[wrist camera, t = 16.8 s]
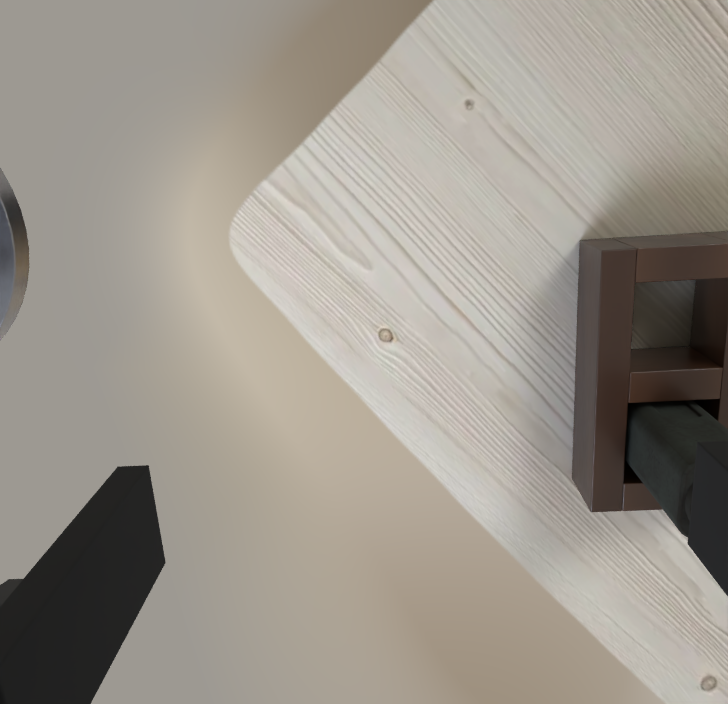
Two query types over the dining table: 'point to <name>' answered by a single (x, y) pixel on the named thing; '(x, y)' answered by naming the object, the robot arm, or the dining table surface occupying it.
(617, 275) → the rack
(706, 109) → the dining table surface
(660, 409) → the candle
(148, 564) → the robot arm
